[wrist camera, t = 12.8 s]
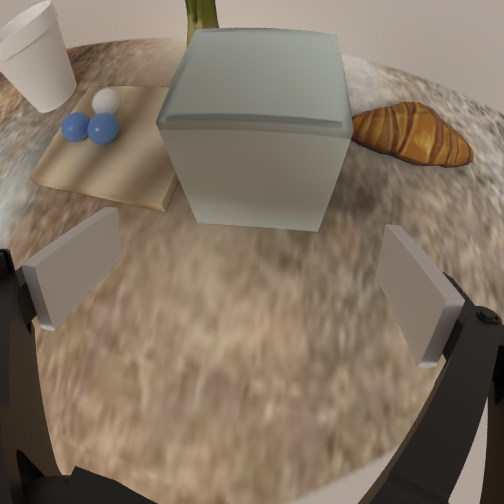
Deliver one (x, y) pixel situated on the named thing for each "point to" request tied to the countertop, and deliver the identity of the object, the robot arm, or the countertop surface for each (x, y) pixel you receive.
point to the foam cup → (37, 58)
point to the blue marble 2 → (103, 128)
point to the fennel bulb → (200, 16)
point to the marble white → (106, 101)
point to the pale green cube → (258, 126)
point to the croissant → (411, 135)
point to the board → (115, 154)
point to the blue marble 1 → (75, 127)
